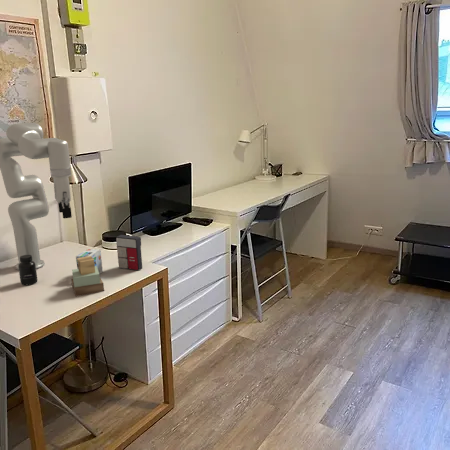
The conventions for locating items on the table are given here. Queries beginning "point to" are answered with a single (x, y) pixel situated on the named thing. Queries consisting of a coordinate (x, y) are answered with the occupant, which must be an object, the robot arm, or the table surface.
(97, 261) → the light bulb box
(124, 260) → the grey red box
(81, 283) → the sage block
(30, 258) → the supplement bottle
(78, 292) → the walnut block
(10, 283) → the table surface
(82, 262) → the oak cube
